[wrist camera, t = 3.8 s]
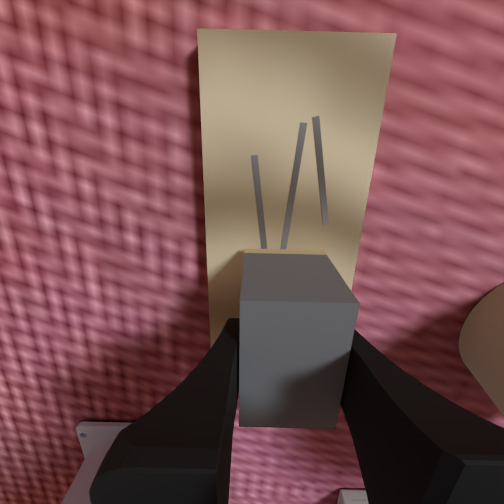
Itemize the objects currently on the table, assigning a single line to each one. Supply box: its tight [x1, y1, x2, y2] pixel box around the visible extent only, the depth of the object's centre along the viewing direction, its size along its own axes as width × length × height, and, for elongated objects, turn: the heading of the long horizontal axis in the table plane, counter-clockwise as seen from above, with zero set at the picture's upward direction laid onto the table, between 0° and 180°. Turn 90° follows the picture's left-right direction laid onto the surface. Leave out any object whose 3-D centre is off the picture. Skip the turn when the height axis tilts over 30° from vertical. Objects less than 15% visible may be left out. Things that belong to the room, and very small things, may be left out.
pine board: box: [197, 28, 397, 347], centre depth 14 cm, size 16×8×1 cm, turn 179°
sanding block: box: [239, 249, 359, 429], centre depth 13 cm, size 6×4×5 cm, turn 179°
